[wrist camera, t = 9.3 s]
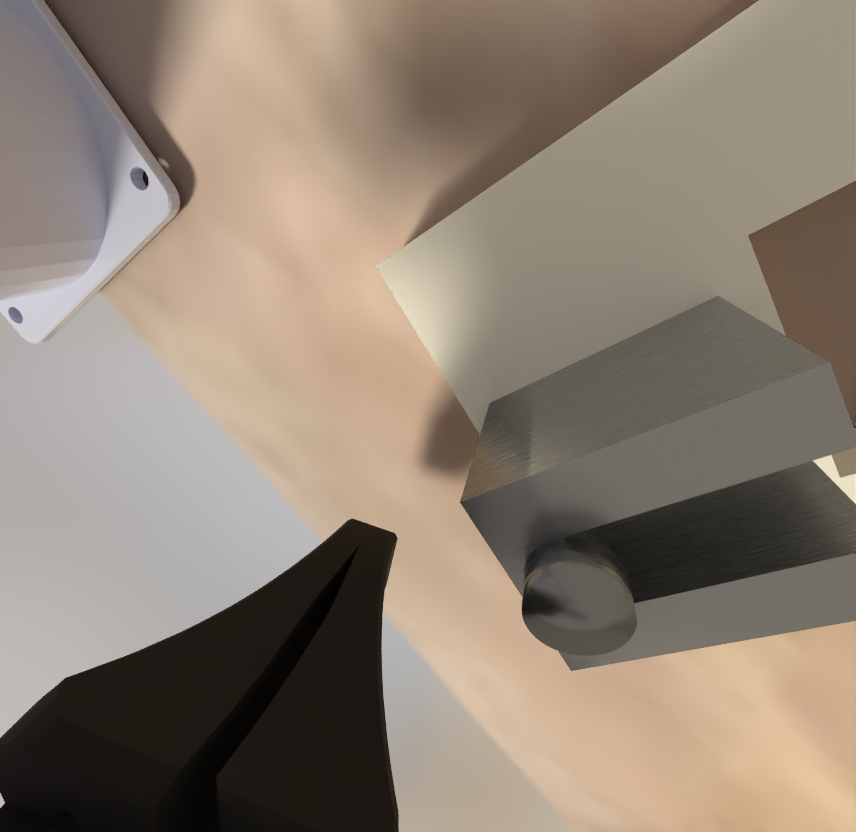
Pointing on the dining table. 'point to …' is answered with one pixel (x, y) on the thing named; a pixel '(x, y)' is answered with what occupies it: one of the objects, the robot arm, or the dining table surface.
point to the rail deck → (642, 208)
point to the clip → (671, 492)
